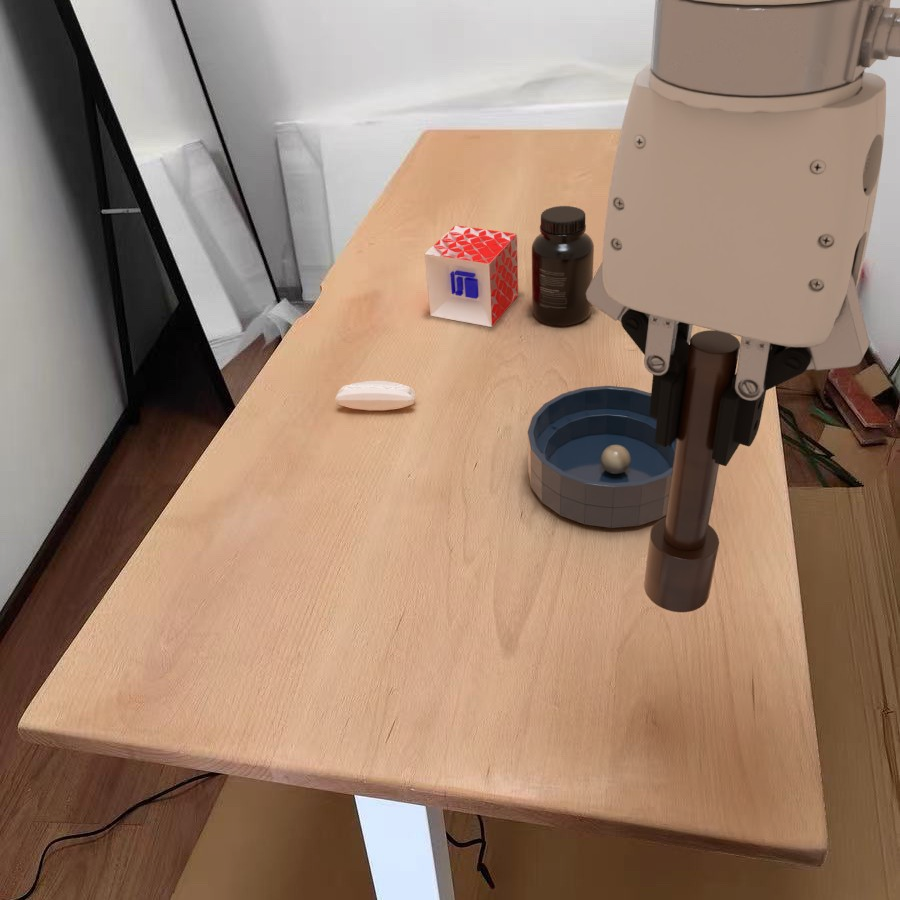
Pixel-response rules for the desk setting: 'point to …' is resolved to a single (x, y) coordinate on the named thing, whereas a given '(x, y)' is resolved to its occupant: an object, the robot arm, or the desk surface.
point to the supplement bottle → (562, 267)
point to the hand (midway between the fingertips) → (700, 437)
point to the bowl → (599, 457)
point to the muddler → (692, 482)
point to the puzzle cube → (472, 275)
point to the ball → (615, 459)
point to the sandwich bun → (375, 396)
